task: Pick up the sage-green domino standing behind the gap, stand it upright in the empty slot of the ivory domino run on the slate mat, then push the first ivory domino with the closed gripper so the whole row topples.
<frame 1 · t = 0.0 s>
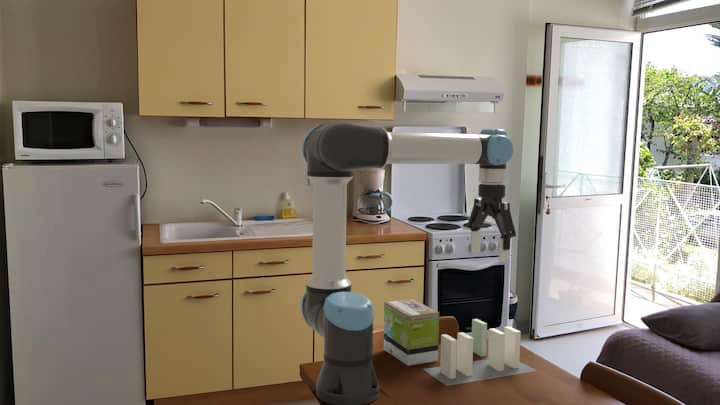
hand: (489, 257, 172), 28 cm above the table, fingers open, 13 cm apart
domino 1: (447, 375, 155), point 1 cm above the table, touching slate mat
sage domino: (478, 355, 171), on the table
domino 4: (495, 367, 161), point 1 cm above the table, touching slate mat
domino 2: (464, 372, 157), point 1 cm above the table, touching slate mat
slate mat: (480, 372, 159), on the table
domino 5: (510, 365, 162), point 1 cm above the table, touching slate mat
tea box: (409, 357, 169), on the table
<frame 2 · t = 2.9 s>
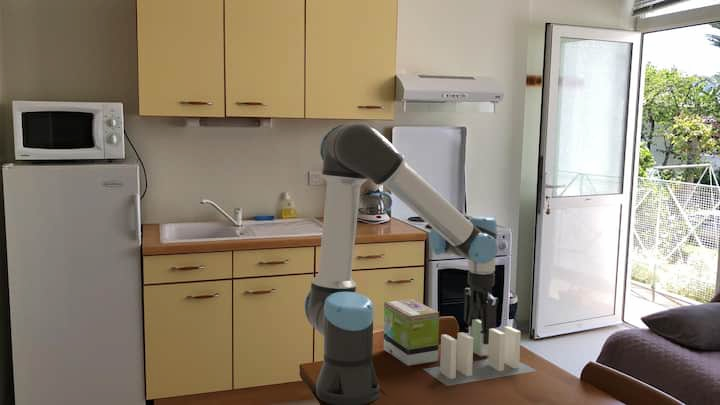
hand: (478, 350, 171), 1 cm above the table, fingers closed on sage domino, 5 cm apart
sage domino: (478, 355, 171), on the table, touching gripper
everything else where it was.
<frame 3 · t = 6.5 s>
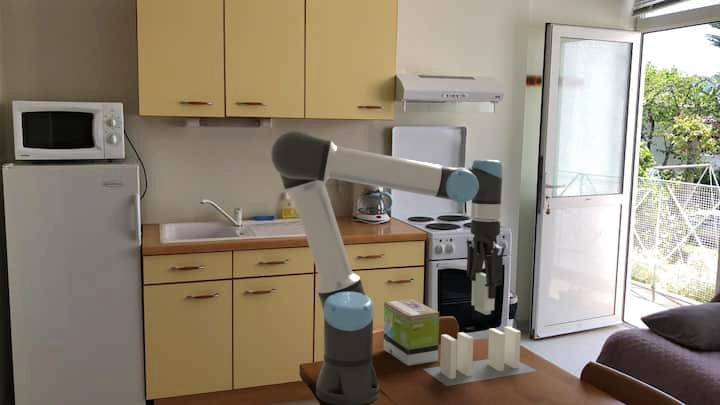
hand: (482, 307, 157), 18 cm above the table, fingers closed on sage domino, 5 cm apart
sage domino: (482, 311, 157), point 16 cm above the table, touching gripper
everything else where it was.
when the fingers open (3 cm above the table, at t = 10.0 s): sage domino stays where it is, resting on slate mat.
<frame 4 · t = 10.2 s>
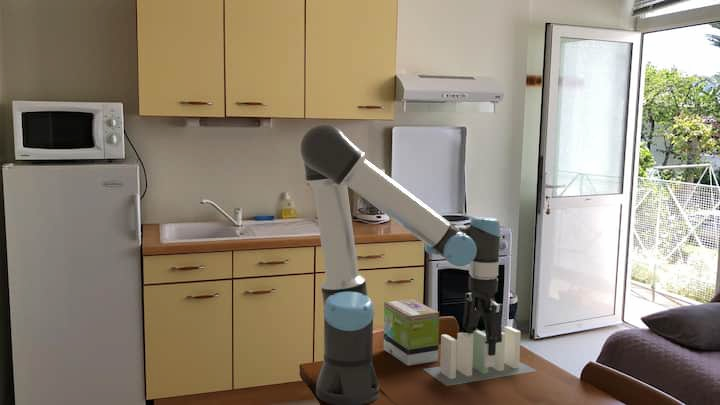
hand: (480, 361, 158), 3 cm above the table, fingers open, 7 cm apart
sage domino: (480, 369, 159), point 1 cm above the table, touching slate mat
everything else where it was.
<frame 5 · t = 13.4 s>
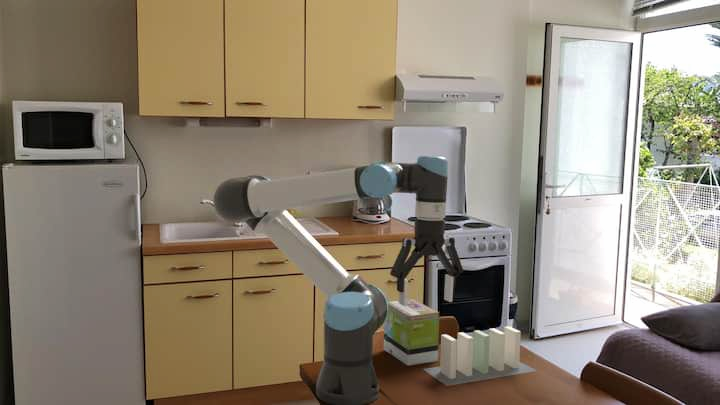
hand: (425, 302, 150), 20 cm above the table, fingers open, 12 cm apart
nothing on the table moved.
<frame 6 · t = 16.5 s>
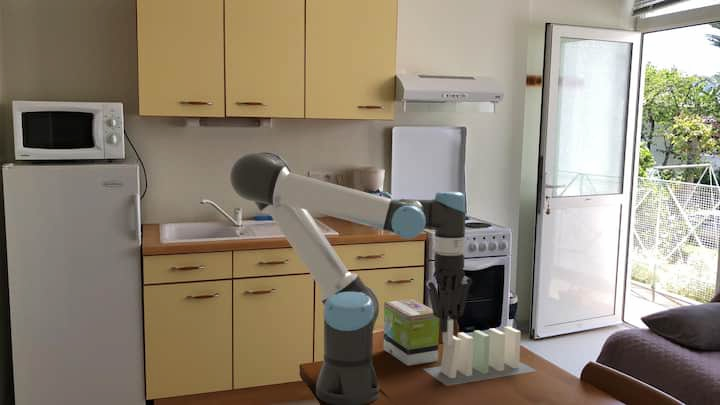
hand: (447, 343, 153), 9 cm above the table, fingers closed
domino 1: (447, 374, 155), point 1 cm above the table, tilted 8°, touching slate mat
everything else where it was.
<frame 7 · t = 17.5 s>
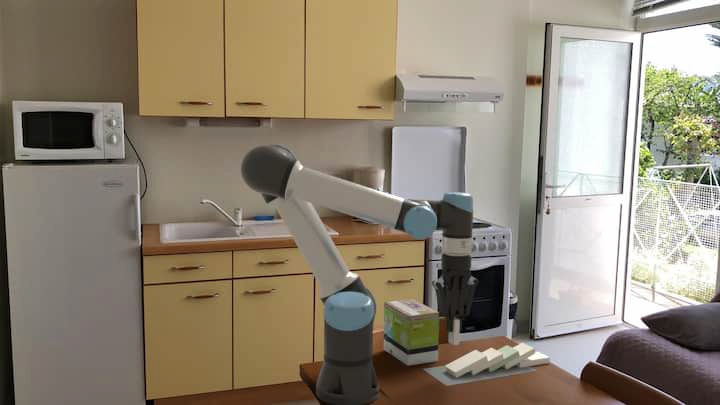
hand: (453, 343, 154), 9 cm above the table, fingers closed
domino 1: (450, 371, 155), point 1 cm above the table, tilted 72°, touching domino 2, slate mat
sage domino: (483, 366, 159), point 1 cm above the table, tilted 71°, touching domino 2, domino 4, slate mat
domino 4: (500, 363, 161), point 1 cm above the table, tilted 71°, touching domino 5, sage domino
domino 2: (467, 369, 157), point 1 cm above the table, tilted 72°, touching domino 1, sage domino, slate mat
domino 5: (514, 361, 163), point 1 cm above the table, tilted 90°, touching domino 4, slate mat
everything else where it was.
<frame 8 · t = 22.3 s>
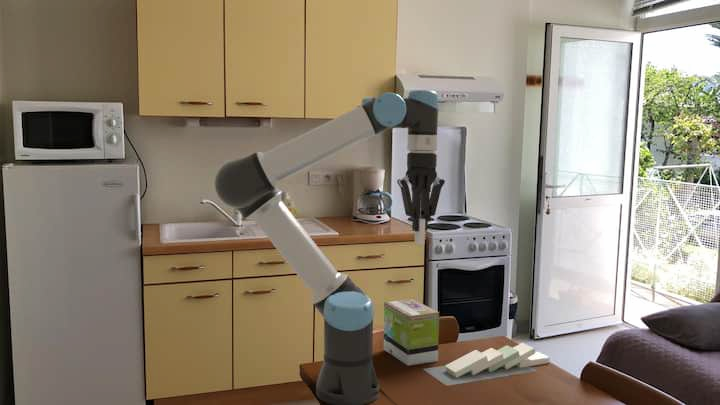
hand: (419, 243, 154), 34 cm above the table, fingers closed
nothing on the table moved.
at the end: domino 5 tilted 90°; domino 1 tilted 72°; sage domino inside the target area (0.7 cm from its centre), point 1.4 cm above the table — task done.
